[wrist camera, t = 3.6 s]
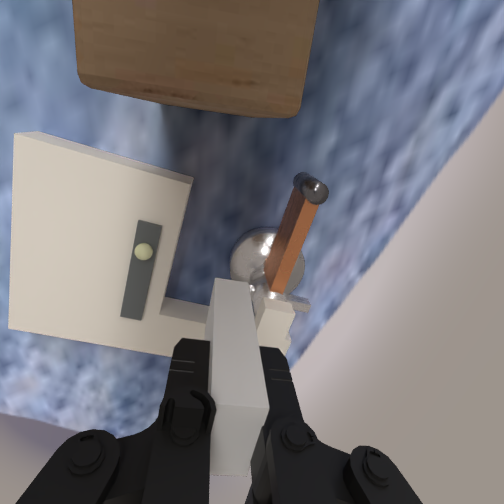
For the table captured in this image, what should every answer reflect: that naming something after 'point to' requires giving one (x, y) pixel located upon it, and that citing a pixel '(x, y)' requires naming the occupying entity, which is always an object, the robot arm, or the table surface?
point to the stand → (105, 251)
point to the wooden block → (198, 52)
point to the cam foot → (279, 248)
